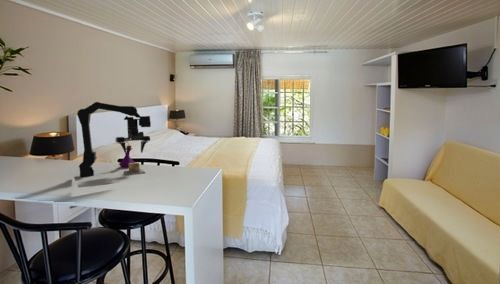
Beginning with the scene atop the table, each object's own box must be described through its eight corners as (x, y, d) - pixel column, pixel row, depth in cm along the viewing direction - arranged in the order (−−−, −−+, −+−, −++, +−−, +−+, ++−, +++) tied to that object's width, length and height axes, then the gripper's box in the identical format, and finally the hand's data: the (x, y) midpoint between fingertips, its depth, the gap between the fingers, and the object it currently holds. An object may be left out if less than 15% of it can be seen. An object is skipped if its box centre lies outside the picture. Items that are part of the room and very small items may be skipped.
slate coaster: (127, 175, 171) (127, 173, 171) (123, 172, 180) (123, 171, 180) (145, 173, 177) (145, 171, 177) (140, 170, 185) (140, 169, 185)
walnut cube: (130, 172, 175) (130, 164, 174) (128, 171, 179) (128, 163, 178) (139, 171, 178) (139, 163, 177) (137, 170, 182) (137, 162, 181)
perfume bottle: (135, 167, 197) (134, 140, 196) (129, 169, 190) (128, 141, 188) (124, 167, 198) (123, 140, 196) (118, 169, 191) (117, 141, 189)
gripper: (118, 128, 164) (119, 156, 165) (152, 127, 175) (153, 153, 176) (114, 127, 173) (116, 154, 175) (147, 126, 184) (148, 151, 185)
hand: (133, 153), depth 177 cm, fingers open, 9 cm apart
